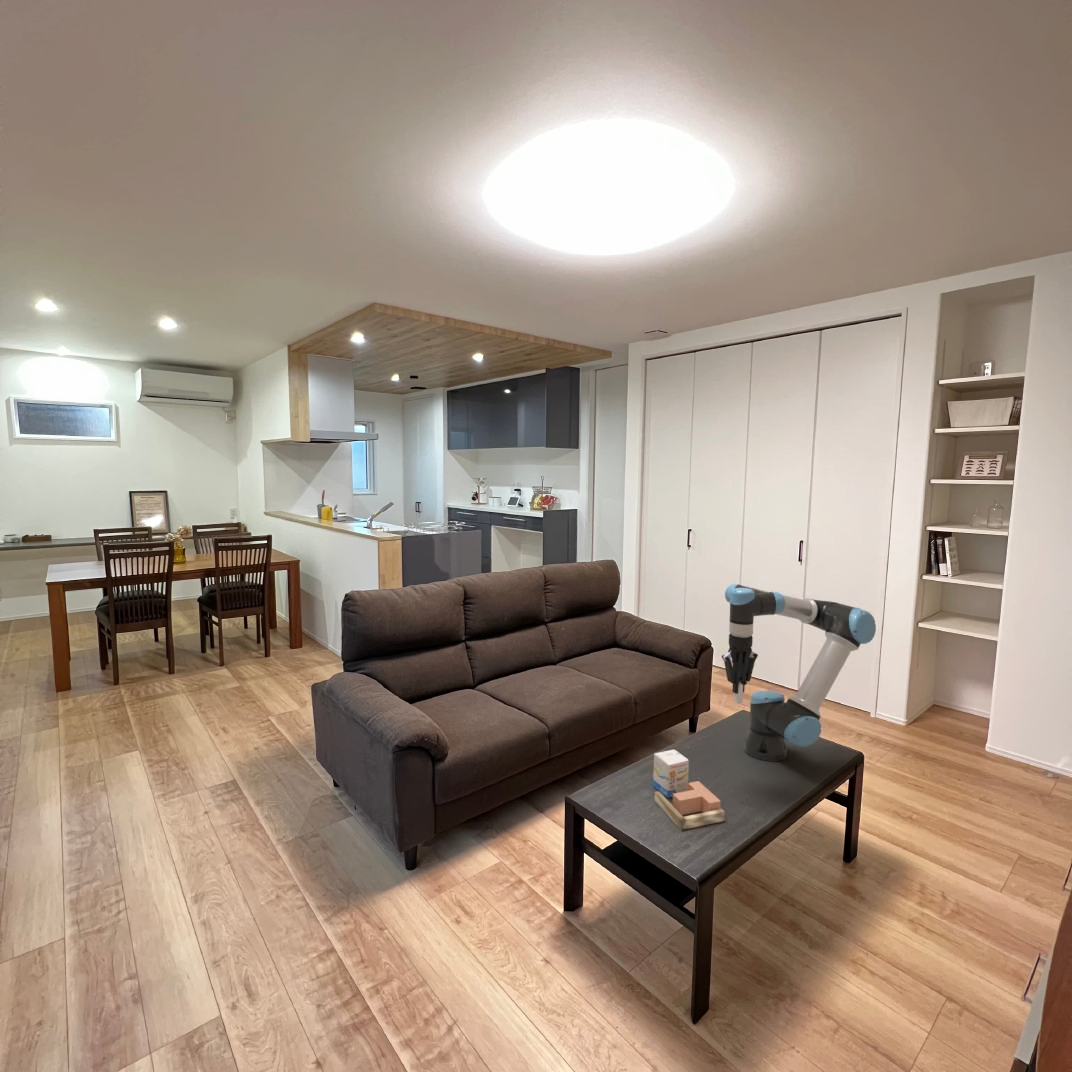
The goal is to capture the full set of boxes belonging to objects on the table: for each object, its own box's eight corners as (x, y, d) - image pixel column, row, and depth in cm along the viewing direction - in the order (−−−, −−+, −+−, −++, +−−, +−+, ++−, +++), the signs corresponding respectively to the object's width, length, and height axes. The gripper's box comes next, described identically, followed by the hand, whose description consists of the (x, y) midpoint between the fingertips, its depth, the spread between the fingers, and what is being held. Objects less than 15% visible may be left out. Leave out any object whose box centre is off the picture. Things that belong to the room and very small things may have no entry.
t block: (686, 823, 173) (686, 807, 173) (665, 801, 185) (666, 787, 184) (720, 816, 177) (720, 801, 176) (698, 795, 188) (698, 781, 188)
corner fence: (694, 792, 190) (695, 784, 189) (724, 820, 174) (724, 811, 174) (654, 800, 185) (654, 792, 185) (681, 830, 170) (681, 820, 170)
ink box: (667, 798, 186) (668, 764, 185) (652, 785, 194) (653, 753, 193) (688, 792, 190) (689, 759, 188) (673, 780, 198) (674, 748, 196)
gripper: (749, 629, 197) (746, 695, 200) (717, 632, 193) (714, 699, 196) (764, 635, 190) (761, 703, 192) (731, 639, 186) (728, 708, 189)
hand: (737, 701), depth 194 cm, fingers closed
